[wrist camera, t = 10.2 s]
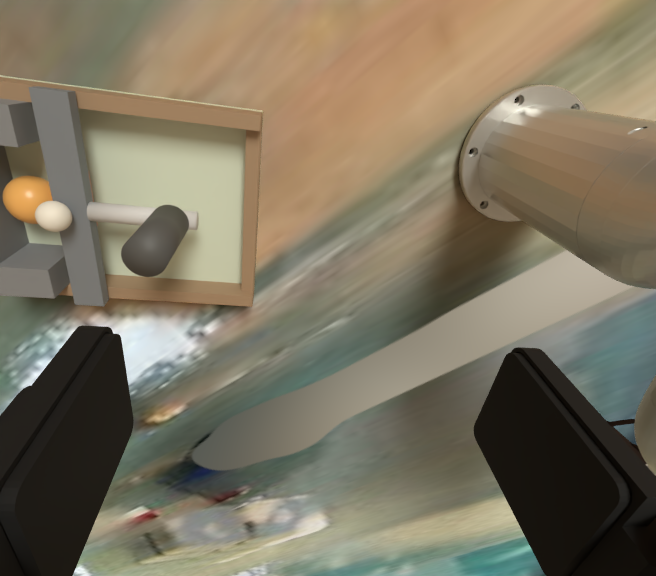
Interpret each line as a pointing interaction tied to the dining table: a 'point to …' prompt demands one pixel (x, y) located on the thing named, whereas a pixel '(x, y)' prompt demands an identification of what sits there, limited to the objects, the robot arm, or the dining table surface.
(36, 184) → the ball
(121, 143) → the foosball lane
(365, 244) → the dining table surface
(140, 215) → the kicker rod
